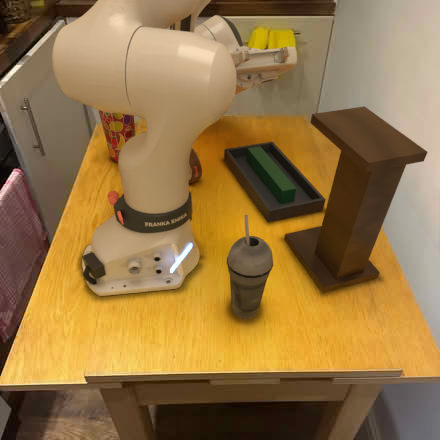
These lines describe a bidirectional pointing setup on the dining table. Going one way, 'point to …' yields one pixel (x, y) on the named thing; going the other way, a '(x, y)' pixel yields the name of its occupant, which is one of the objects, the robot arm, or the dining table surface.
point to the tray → (260, 194)
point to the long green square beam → (271, 175)
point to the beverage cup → (248, 273)
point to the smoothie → (117, 130)
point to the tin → (194, 167)
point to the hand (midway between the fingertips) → (266, 53)
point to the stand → (354, 197)
